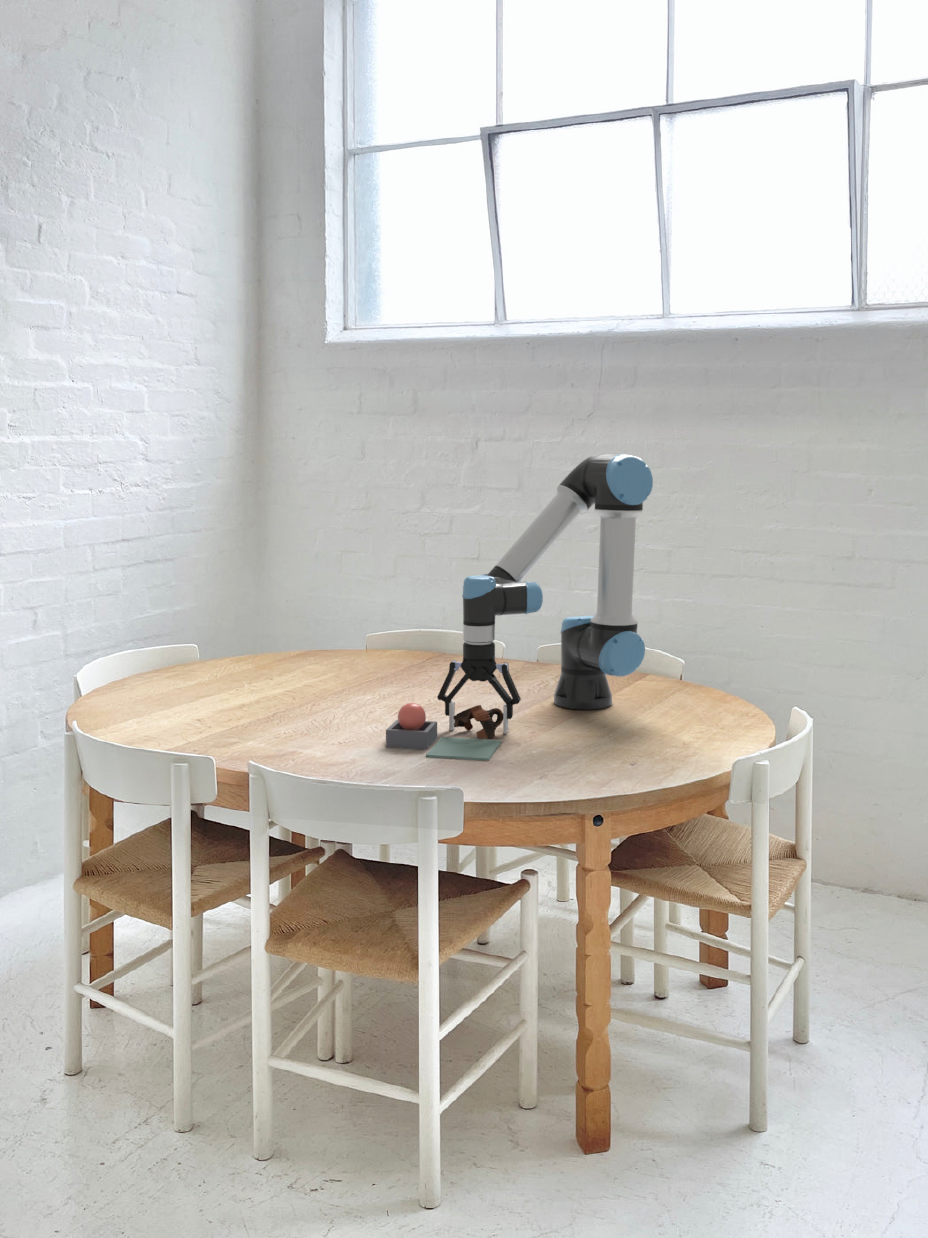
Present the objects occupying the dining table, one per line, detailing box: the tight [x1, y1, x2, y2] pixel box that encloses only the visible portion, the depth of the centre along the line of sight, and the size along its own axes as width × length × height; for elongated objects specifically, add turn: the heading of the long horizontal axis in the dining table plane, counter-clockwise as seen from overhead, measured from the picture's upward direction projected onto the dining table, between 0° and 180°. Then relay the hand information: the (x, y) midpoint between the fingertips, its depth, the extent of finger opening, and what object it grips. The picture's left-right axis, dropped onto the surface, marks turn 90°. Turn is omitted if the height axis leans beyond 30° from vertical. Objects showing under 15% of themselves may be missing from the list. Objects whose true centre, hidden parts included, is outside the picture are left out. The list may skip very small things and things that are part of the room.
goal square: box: [425, 736, 502, 761], centre depth 258 cm, size 14×15×1 cm
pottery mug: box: [453, 704, 503, 739], centre depth 270 cm, size 12×10×8 cm
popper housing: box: [385, 718, 438, 750], centre depth 263 cm, size 10×10×4 cm
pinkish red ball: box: [397, 702, 427, 730], centre depth 263 cm, size 6×6×6 cm
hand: (478, 730), depth 273 cm, fingers open, 12 cm apart
